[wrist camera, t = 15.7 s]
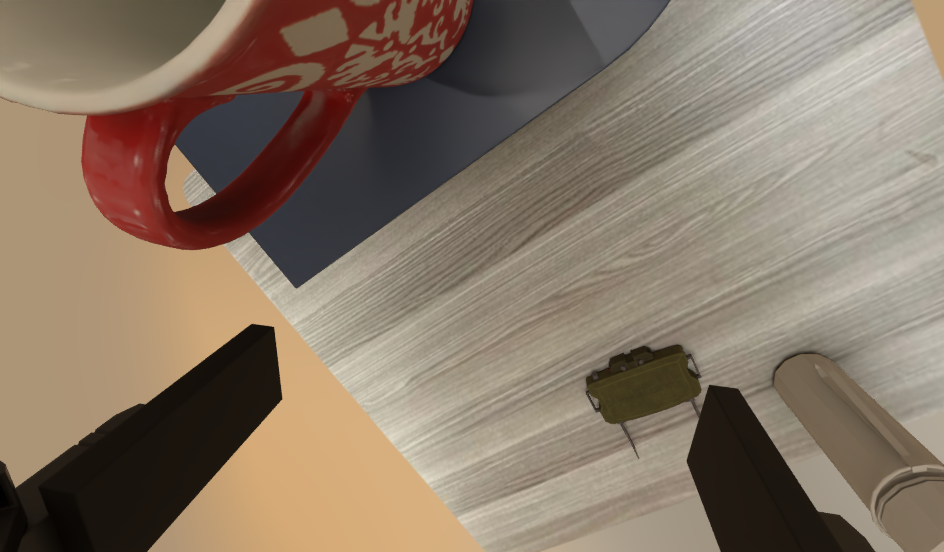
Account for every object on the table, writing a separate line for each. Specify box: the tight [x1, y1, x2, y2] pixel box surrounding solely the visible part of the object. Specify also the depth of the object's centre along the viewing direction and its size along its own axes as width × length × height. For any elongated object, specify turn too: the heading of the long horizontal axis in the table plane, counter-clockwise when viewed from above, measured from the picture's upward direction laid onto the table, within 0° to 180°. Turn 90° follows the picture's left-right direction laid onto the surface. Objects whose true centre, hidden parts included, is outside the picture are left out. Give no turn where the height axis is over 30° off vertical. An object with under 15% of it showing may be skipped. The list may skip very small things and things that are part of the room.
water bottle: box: [774, 354, 944, 552], centre depth 45 cm, size 9×8×25 cm
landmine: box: [586, 345, 701, 459], centre depth 60 cm, size 14×3×15 cm
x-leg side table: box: [175, 0, 670, 288], centre depth 34 cm, size 26×14×34 cm, turn 125°
